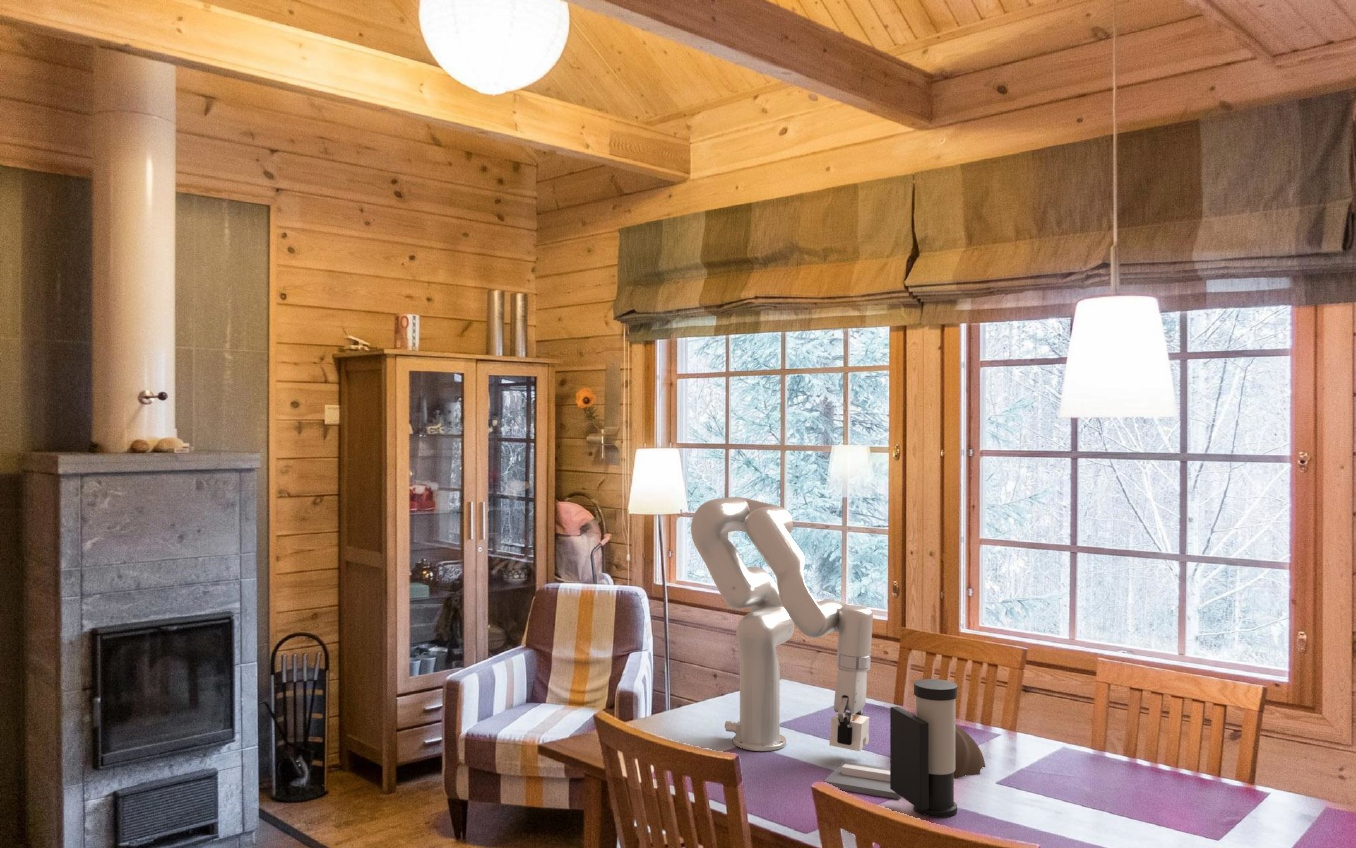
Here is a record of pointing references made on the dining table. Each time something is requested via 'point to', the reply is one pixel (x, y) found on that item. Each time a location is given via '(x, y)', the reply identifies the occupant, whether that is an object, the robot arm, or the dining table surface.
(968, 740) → the decorative dome
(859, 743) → the block
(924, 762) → the light fixture
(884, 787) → the rail board
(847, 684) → the robot arm
